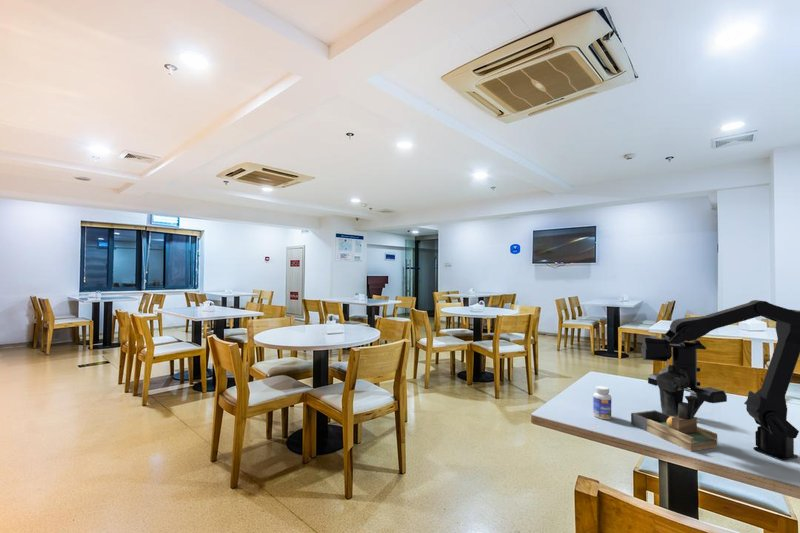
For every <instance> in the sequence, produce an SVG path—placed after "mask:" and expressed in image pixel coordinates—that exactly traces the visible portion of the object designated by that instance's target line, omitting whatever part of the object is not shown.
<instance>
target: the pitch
mask: <svg viewBox="0 0 800 533" xmlns="http://www.w3.org/2000/svg"><path fill="white" fill-rule="evenodd" d="M670 417H673V416H670ZM646 432H647V433H649V434H652V435H654V436H657V437H659V438H660V439H663V440H665V441H667V442H670V443H672V444H674V445H676V446H678V447H681V448H682V449H685V450H687V451H690V452H696V451H700V450H706V449H707V448H708V449H712V448H717V447H718V433H716V432H714V431H711V430H708V429H706V428H703V427H701V426H698V425H697V432H690V433H681V432H679V431H677V430H674V429H672V428H670V427H669V426H668V425H667V422H664V423H657V422H655V421H653V420H650V419H647V431H646ZM708 449H707V450H708Z"/></svg>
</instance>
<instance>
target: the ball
mask: <svg viewBox="0 0 800 533" xmlns="http://www.w3.org/2000/svg"><path fill="white" fill-rule="evenodd" d="M672 417H673V416H672ZM672 417H669V418H668V419H667V425H668V426H669V427H670V428H672Z"/></svg>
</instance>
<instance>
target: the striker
mask: <svg viewBox="0 0 800 533" xmlns="http://www.w3.org/2000/svg"><path fill="white" fill-rule="evenodd" d="M697 426H698V418H697V417H696V416H694V417H693V419H688V402H684V401H683V402H678V416H672V429H674V430H677V431H679V432H681V433H690V432H697Z"/></svg>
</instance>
